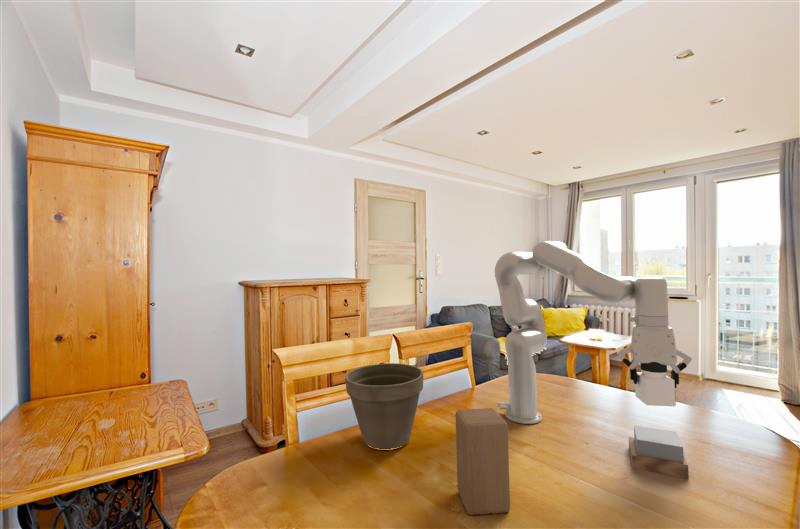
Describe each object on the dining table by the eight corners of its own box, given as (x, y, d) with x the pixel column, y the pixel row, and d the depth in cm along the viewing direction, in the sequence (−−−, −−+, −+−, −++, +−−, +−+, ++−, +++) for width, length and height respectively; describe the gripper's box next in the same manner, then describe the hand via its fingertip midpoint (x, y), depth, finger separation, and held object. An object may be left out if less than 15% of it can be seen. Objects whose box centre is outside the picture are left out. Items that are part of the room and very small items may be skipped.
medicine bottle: (676, 406, 97) (674, 361, 98) (646, 405, 99) (644, 360, 99) (662, 397, 104) (661, 355, 105) (635, 396, 106) (633, 354, 106)
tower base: (632, 470, 99) (632, 455, 99) (629, 450, 109) (628, 436, 109) (688, 481, 93) (688, 465, 93) (679, 459, 104) (678, 444, 104)
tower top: (637, 454, 99) (636, 439, 99) (634, 438, 108) (633, 425, 108) (683, 462, 94) (683, 447, 94) (676, 445, 103) (676, 431, 103)
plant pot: (358, 468, 102) (356, 389, 102) (339, 432, 125) (337, 368, 125) (438, 450, 111) (436, 377, 111) (407, 419, 134) (405, 359, 134)
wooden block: (456, 490, 90) (454, 408, 91) (496, 487, 91) (494, 406, 92) (467, 517, 80) (465, 425, 81) (511, 514, 81) (509, 422, 82)
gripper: (616, 322, 103) (618, 384, 103) (694, 324, 95) (697, 393, 94) (614, 318, 110) (617, 377, 109) (688, 321, 101) (690, 384, 101)
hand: (654, 384), depth 102 cm, fingers closed on medicine bottle, 8 cm apart
